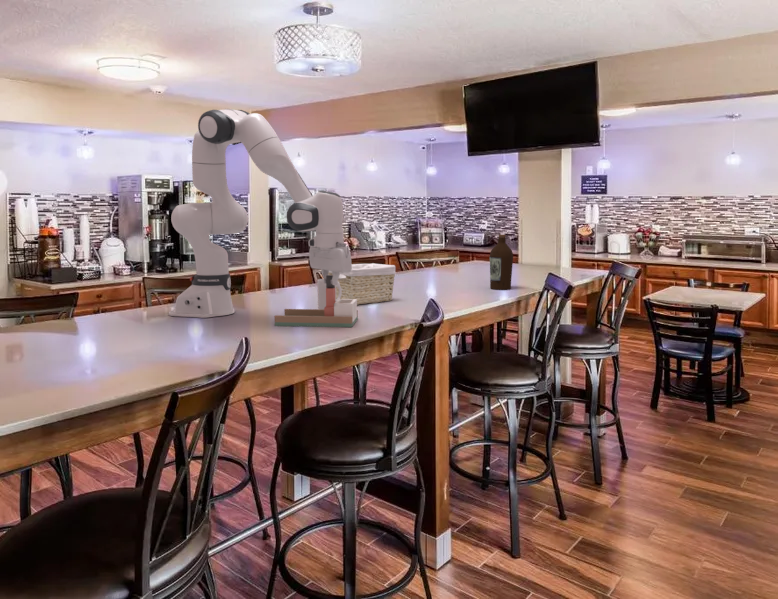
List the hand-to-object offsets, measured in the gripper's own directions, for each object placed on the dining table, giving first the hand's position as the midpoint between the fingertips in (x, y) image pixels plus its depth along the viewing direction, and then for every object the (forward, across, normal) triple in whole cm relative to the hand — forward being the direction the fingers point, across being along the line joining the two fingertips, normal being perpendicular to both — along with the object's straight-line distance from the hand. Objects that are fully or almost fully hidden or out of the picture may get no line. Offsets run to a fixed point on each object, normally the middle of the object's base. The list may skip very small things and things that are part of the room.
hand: (330, 284), depth 205 cm
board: (+13, +3, +3) cm, 14 cm away
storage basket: (+13, +31, -35) cm, 48 cm away
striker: (+11, 0, 0) cm, 11 cm away
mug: (+13, +17, -10) cm, 24 cm away
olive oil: (+13, +24, -108) cm, 111 cm away
